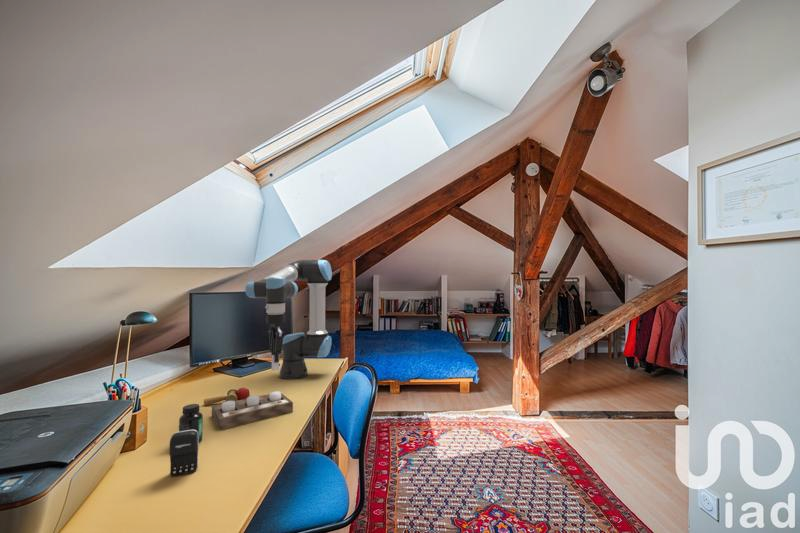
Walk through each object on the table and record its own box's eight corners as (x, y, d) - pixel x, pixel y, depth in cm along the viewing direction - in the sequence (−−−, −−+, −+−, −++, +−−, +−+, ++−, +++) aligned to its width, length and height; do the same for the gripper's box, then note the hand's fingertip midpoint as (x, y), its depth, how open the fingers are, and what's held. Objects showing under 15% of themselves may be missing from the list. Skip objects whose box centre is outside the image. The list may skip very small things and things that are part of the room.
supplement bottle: (206, 440, 117) (206, 405, 118) (185, 449, 112) (185, 411, 112) (195, 435, 121) (196, 401, 121) (174, 443, 115) (175, 407, 116)
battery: (167, 479, 95) (168, 437, 95) (170, 472, 98) (170, 432, 99) (197, 473, 98) (197, 432, 98) (198, 466, 101) (199, 427, 102)
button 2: (279, 401, 149) (279, 390, 149) (282, 404, 145) (282, 393, 145) (268, 403, 146) (268, 392, 146) (271, 406, 142) (271, 395, 142)
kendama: (203, 412, 145) (249, 400, 152) (201, 397, 146) (247, 386, 153) (206, 409, 152) (251, 398, 159) (205, 394, 153) (249, 384, 160)
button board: (279, 400, 155) (279, 391, 155) (292, 411, 142) (292, 401, 142) (211, 416, 138) (211, 405, 138) (219, 430, 125) (219, 418, 125)
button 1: (233, 411, 138) (233, 399, 138) (236, 414, 134) (236, 403, 134) (220, 414, 135) (220, 402, 135) (223, 418, 131) (223, 406, 131)
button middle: (257, 406, 143) (257, 395, 143) (260, 409, 140) (260, 398, 140) (245, 408, 140) (245, 397, 141) (248, 412, 137) (248, 400, 137)
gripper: (261, 312, 149) (261, 367, 149) (271, 315, 139) (271, 374, 138) (279, 311, 154) (279, 365, 153) (289, 314, 144) (289, 371, 143)
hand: (275, 369), depth 146 cm, fingers closed
